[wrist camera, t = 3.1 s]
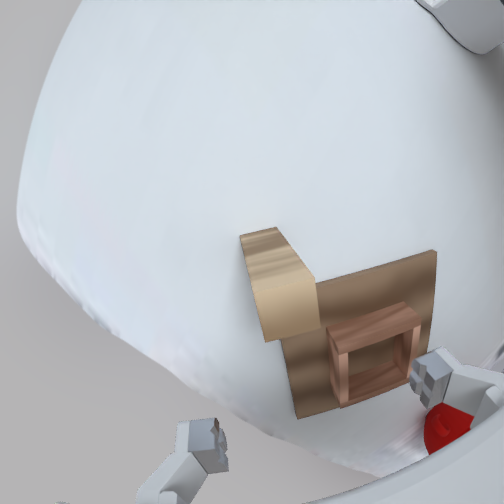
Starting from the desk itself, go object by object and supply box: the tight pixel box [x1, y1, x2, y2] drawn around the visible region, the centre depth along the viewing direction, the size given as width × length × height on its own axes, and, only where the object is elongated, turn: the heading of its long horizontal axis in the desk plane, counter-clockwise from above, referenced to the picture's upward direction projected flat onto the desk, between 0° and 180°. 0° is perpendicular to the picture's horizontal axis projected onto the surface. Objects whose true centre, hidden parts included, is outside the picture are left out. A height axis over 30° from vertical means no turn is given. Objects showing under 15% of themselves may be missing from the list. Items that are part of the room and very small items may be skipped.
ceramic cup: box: [424, 402, 475, 455], centre depth 37 cm, size 13×17×10 cm
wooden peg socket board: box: [281, 250, 437, 419], centre depth 31 cm, size 20×20×5 cm
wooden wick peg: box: [240, 227, 321, 343], centre depth 22 cm, size 4×4×12 cm
